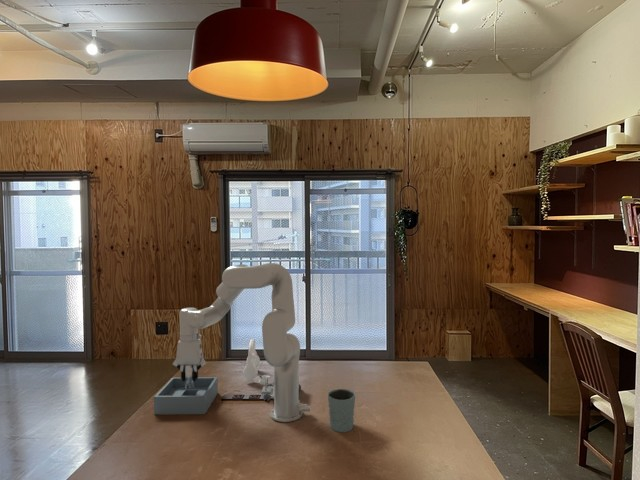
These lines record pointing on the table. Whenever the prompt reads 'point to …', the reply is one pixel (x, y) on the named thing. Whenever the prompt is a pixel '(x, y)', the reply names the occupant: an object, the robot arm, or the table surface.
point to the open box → (186, 396)
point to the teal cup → (341, 409)
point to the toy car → (269, 388)
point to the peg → (189, 377)
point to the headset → (251, 363)
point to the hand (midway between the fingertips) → (189, 379)
